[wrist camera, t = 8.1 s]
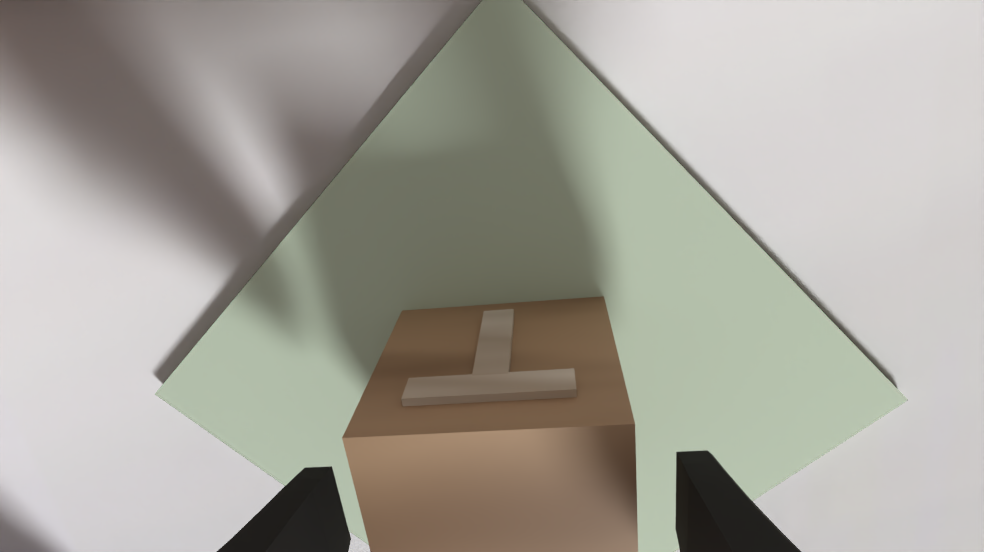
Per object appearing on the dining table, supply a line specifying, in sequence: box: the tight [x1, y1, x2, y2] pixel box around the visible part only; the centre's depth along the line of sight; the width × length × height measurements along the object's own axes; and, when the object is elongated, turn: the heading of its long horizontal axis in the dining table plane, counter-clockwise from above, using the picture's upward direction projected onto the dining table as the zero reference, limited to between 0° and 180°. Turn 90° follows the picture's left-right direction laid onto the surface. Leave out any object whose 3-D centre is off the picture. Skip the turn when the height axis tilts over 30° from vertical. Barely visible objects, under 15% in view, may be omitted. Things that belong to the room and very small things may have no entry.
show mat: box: [155, 0, 908, 552], centre depth 16 cm, size 14×14×1 cm
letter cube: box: [342, 296, 638, 552], centre depth 13 cm, size 5×5×5 cm
